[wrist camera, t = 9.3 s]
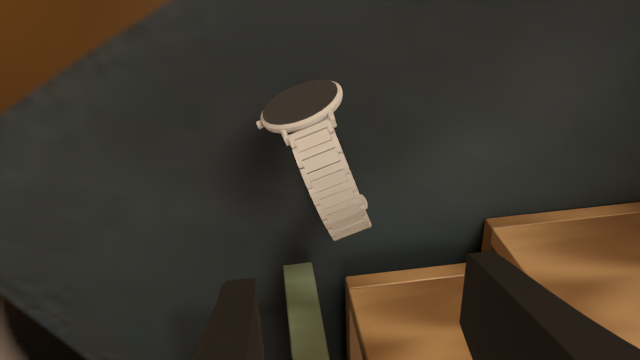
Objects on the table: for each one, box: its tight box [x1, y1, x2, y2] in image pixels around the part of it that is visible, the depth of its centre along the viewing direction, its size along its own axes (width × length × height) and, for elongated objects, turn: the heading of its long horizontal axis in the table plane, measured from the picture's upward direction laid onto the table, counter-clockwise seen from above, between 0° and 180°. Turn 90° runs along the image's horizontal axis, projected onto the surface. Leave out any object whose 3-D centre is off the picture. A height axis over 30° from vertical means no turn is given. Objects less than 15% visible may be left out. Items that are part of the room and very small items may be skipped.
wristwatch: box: [256, 79, 372, 241], centre depth 18 cm, size 3×5×5 cm, turn 21°
